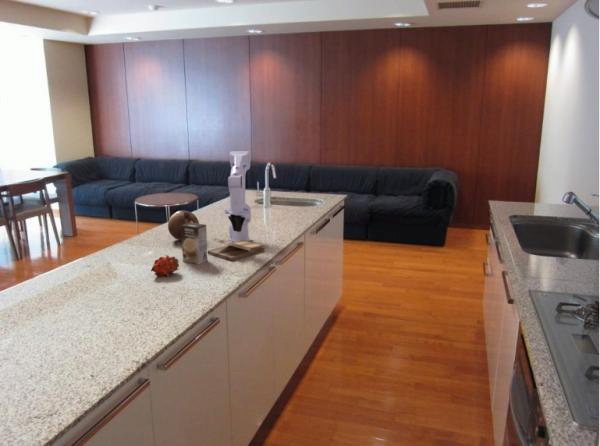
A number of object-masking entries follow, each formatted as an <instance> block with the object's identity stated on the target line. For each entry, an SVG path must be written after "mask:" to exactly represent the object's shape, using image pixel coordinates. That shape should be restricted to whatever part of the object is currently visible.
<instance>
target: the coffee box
mask: <svg viewBox="0 0 600 446" xmlns="http://www.w3.org/2000/svg"><path fill="white" fill-rule="evenodd" d="M181 234H182V241H181V249H182V252H181V253H182V262H185V263H191V264H196V265H200V264H202V263H205V262H207V261H208V240H207V239H208V237H207V235H208V234H207V224H204V223H203V224H202V223H199V224H197V223H187V224H184V225H182V226H181Z"/></svg>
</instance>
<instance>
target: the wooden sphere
mask: <svg viewBox="0 0 600 446" xmlns="http://www.w3.org/2000/svg"><path fill="white" fill-rule="evenodd" d="M187 223H197V224H200V222H199V219H198V217H197V216H196V214H194V213H193V212H191V211H188V210H178V211H176V212H174V213H173V214H172V215H171V216H170V218H169V219H168V223H167V230H168V232H169V234H170V235H171V237H172V238H174V239H175V240H177V241H181V242H182V234H181V226H182V225H184V224H187Z"/></svg>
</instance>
